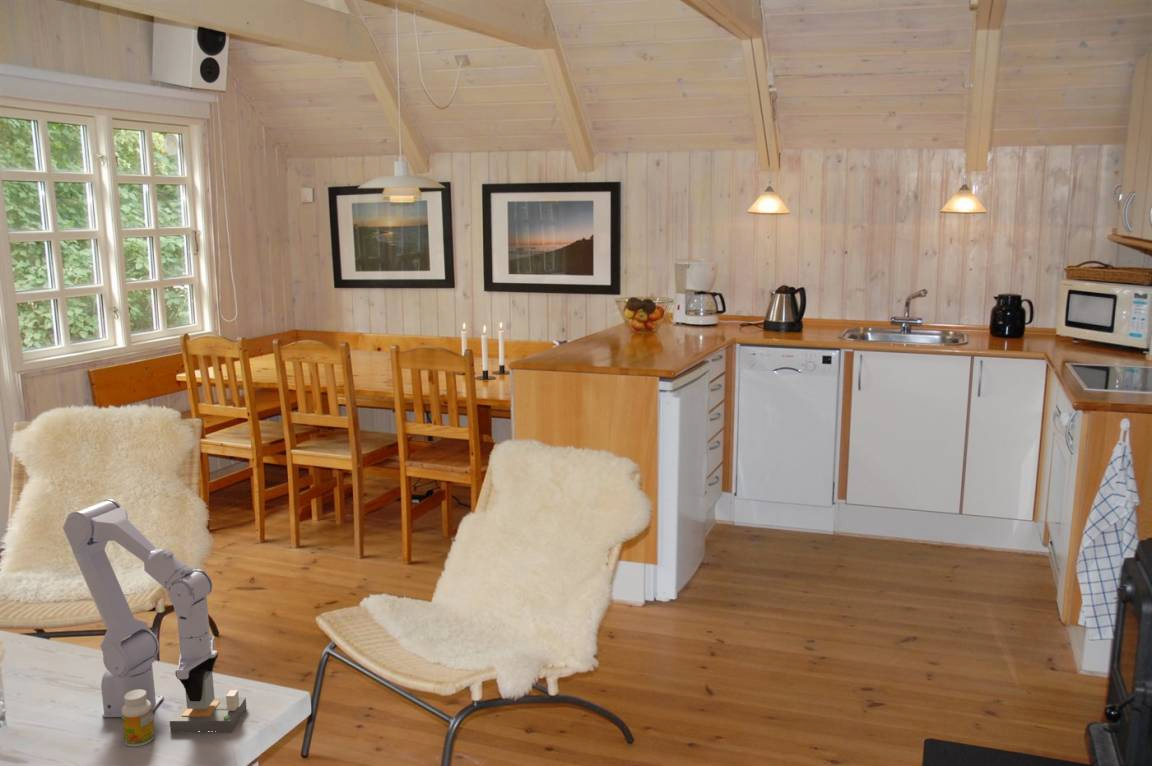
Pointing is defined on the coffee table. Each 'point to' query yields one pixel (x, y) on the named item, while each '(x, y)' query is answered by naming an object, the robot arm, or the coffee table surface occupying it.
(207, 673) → the block
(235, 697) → the lever
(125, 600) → the robot arm
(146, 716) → the supplement bottle
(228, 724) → the switch box
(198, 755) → the coffee table surface
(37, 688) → the coffee table surface
